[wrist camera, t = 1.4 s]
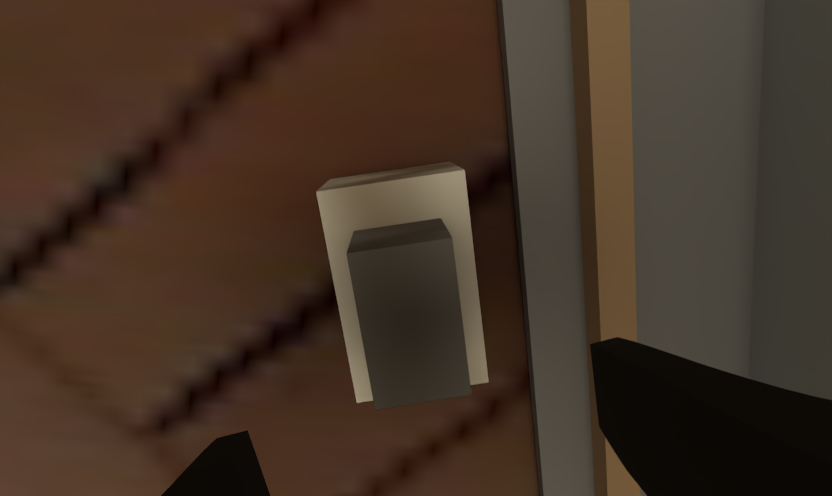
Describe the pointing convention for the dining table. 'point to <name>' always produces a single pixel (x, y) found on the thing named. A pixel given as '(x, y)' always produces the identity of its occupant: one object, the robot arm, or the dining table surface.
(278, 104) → the dining table surface
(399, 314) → the cabinet block
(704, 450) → the robot arm
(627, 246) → the wall board
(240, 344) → the dining table surface
